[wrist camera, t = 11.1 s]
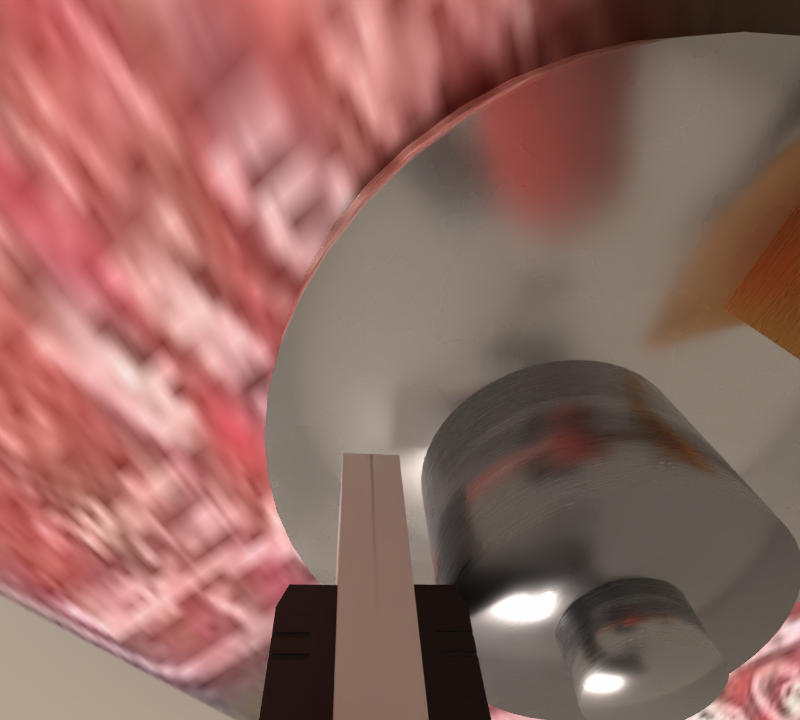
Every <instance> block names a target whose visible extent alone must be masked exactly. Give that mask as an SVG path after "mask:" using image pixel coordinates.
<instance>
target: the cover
mask: <svg viewBox="0 0 800 720" xmlns="http://www.w3.org/2000/svg"><path fill="white" fill-rule="evenodd" d="M421 491H422V498H423V505H424V511H425V518H426V524H427V531H428V538H429V544H430V551H431V558H432V564H433V571H434V577H435V584H436V585H454V586H455V587H456V589H457V591H458V592H459V594H460V595H461V597H462V598H463V600H464V601H465V603H466V604H467V606H468V611H469V615H470V620H471V625H472V630H473V636H474V640H475V644H476V649H477V657H478V659H479V664H480V669H481V674H482V678H483V683H484V688H485V693H486V698H487V703H488V704H490V705H493V706H495V707H497V708H499V709H502V710H504V711H507V712H510V713H513V714H517V715H521V716H526V717H530V718H537V719H545V720H685V719H687V718H689V717H691V716H693V715H695V714H697V713H698V712H700V711H701V710H703V709H705V708H706V707H707V706H708V705H710V704H711V703H712V702H713V701H714V700H715V699H716V698H717V697H718V696H719V695H720V694H721V693H722V691H723V690H724V688H725V686H726V684H727V682H728V678H729V673H731V672H732V671H734V670H735V669H737V668H738V667H740V666H741V665H742V664H744V663H745V662H746V661H747V660H749V659H750V658H751V657H753V656H754V655H755V654H756V653H757V652H758V651H759V650H760V649H761V648H762V647H764V646H765V645H766V644H767V643H768V642H769V641H770V639H771V638H772V637H773V636H774V635H775V634H776V632H777V631H778V630H779V629H780V628H781V626H782V625H783V623H784V622H785V620H786V619H787V617H788V616H789V614H790V612H791V610H792V608H793V606H794V604H795V602H796V600H797V597H798V594H799V591H800V550H799V548H798V545H797V542H796V540H795V538H794V537H793V535H792V534H791V532H790V531H789V529H788V528H787V527H786V526H785V524H784V523H783V522H782V521H781V520H780V519H779V518H778V517H777V516H776V515H775V514H774V513H773V512H772V510H771V509H770V508H769V507H768V506H767V505H766V504H765V503H764V502H763V501H762V500H761V499H760V497H759V496H758V495H757V494H756V493H755V492H754V491H753V490H752V489H751V488H750V487H749V486H748V484H747V483H746V482H745V481H744V480H743V479H742V478H741V477H740V476H739V475H738V474H737V473H736V471H735V470H734V469H733V468H732V467H731V466H730V465H729V464H728V463H727V462H726V461H725V460H724V458H723V457H722V456H721V455H720V454H719V453H718V452H717V451H716V450H715V449H714V448H713V447H712V446H711V444H710V443H709V442H708V441H707V440H706V439H705V438H704V437H703V436H702V435H701V434H700V433H699V431H698V430H697V429H696V428H695V427H694V426H693V425H692V424H691V423H690V422H689V421H688V420H687V418H686V417H685V416H684V415H683V414H682V413H681V412H680V411H679V410H678V409H677V408H676V407H675V405H674V404H673V403H672V402H671V401H670V400H669V399H668V398H667V397H666V396H665V395H664V394H663V393H662V392H661V391H660V390H659V389H658V388H657V387H656V386H655V385H654V384H653V383H651V382H650V381H648V380H647V379H645V378H644V377H643V376H641V375H639V374H637V373H635V372H633V371H631V370H628V369H626V368H623V367H620V366H617V365H613V364H610V363H604V362H598V361H590V360H565V361H554V362H549V363H543V364H538V365H534V366H531V367H527V368H524V369H521V370H517V371H515V372H513V373H510V374H508V375H506V376H503V377H501V378H499V379H497V380H495V381H493V382H491V383H490V384H488V385H486V386H484V387H483V388H481V389H480V390H478V391H477V392H475V393H474V394H473V395H471V396H470V397H468V398H467V399H466V400H465V401H464V402H463V403H462V404H460V405H459V406H458V407H457V408H456V409H455V410H454V411H453V412H452V413H451V414H450V415H449V417H448V418H447V419H446V420H445V421H444V422H443V424H442V425H441V427H440V428H439V430H438V431H437V433H436V434H435V436H434V437H433V439H432V441H431V444H430V446H429V448H428V450H427V453H426V456H425V459H424V463H423V467H422V475H421Z"/></svg>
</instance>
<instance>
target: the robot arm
mask: <svg viewBox="0 0 800 720" xmlns="http://www.w3.org/2000/svg"><path fill="white" fill-rule="evenodd" d="M259 720H491V717H490V712H489V707H488V703H487V698H486V693H485V688H484V683H483V678H482V674H481V669H480V664H479V659H478V657H477V649H476V644H475V640H474V636H473V630H472V625H471V620H470V615H469V611H468V606H467V604H466V603H465V601H464V600H463V598H462V597H461V595H460V594H459V592H458V591H457V589H456V587H455V586H454V585H426V584H414V583H413V574H412V565H411V556H410V547H409V538H408V529H407V520H406V511H405V502H404V493H403V484H402V475H401V466H400V457H399V455H384V454H358V453H343V462H342V477H341V493H340V508H339V524H338V544H337V569H336V585H289V586H288V588H287V590H286V591H285V593H284V595H283V596H282V598H281V599H280V601H279V603H278V604H277V606H276V611H275V617H274V624H273V631H272V638H271V644H270V651H269V659H268V664H267V671H266V678H265V685H264V691H263V698H262V705H261V712H260V718H259Z"/></svg>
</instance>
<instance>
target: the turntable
mask: <svg viewBox="0 0 800 720" xmlns="http://www.w3.org/2000/svg"><path fill="white" fill-rule="evenodd" d="M565 360H590V361H598V362H604V363H610V364H613V365H617V366H620V367H623V368H626V369H628V370H631V371H633V372H635V373H637V374H639V375H641V376H643V377H644V378H645V379H647V380H648V381H650V382H651V383H653V384H654V385H655V386H656V387H657V388H658V389H659V390H660V391H661V392H662V393H663V394H664V395H665V396H666V397H667V398H668V399H669V400H670V401H671V402H672V403H673V404H674V405H675V407H676V408H677V409H678V410H679V411H680V412H681V413H682V414H683V415H684V416H685V417H686V418H687V420H688V421H689V422H690V423H691V424H692V425H693V426H694V427H695V428H696V429H697V430H698V431H699V433H700V434H701V435H702V436H703V437H704V438H705V439H706V440H707V441H708V442H709V443H710V444H711V446H712V447H713V448H714V449H715V450H716V451H717V452H718V453H719V454H720V455H721V456H722V457H723V458H724V460H725V461H726V462H727V463H728V464H729V465H730V466H731V467H732V468H733V469H734V470H735V471H736V473H737V474H738V475H739V476H740V477H741V478H742V479H743V480H744V481H745V482H746V483H747V484H748V486H749V487H750V488H751V489H752V490H753V491H754V492H755V493H756V494H757V495H758V496H759V497H760V499H761V500H762V501H763V502H764V503H765V504H766V505H767V506H768V507H769V508H770V509H771V510H772V512H773V513H774V514H775V515H776V516H777V517H778V518H779V519H780V520H781V521H782V522H783V523H784V524H785V526H786V527H787V528H788V529H789V531H790V532H791V534H792V535H793V537H794V538H795V540H796V542H797V545H798V548H799V550H800V36H796V35H782V34H768V33H753V32H735V33H722V34H709V35H697V36H685V37H673V38H662V39H650V40H639V41H629V42H625V43H621V44H617V45H613V46H609V47H604V48H600V49H596V50H592V51H588V52H583V53H579V54H575V55H571V56H568V57H565V58H563V59H560V60H558V61H555V62H553V63H550V64H547V65H545V66H542V67H540V68H537V69H535V70H532V71H530V72H527V73H524V74H522V75H519V76H517V77H514V78H512V79H510V80H508V81H506V82H504V83H503V84H501V85H499V86H497V87H495V88H494V89H492V90H490V91H488V92H486V93H485V94H483V95H481V96H479V97H477V98H475V99H474V100H472V101H470V102H468V103H466V104H465V105H463V106H461V107H459V108H457V109H456V110H455V111H453V112H452V113H451V114H449V115H448V116H446V117H445V118H444V119H442V120H441V121H440V122H438V123H437V124H436V125H434V126H433V127H432V128H430V129H429V130H428V131H426V132H425V133H423V134H422V135H421V136H419V137H418V138H417V139H415V140H414V141H413V142H411V143H410V144H409V145H407V146H406V147H405V148H404V149H403V150H402V151H401V152H400V153H399V154H398V155H397V156H396V157H395V158H394V159H393V160H392V161H391V162H390V163H389V164H388V165H387V166H386V167H385V168H384V169H383V170H382V171H380V172H379V173H378V174H377V175H376V176H375V177H374V178H373V179H372V180H371V181H370V182H369V183H368V184H367V185H366V186H365V187H364V189H363V190H362V191H361V192H360V194H359V195H358V196H357V198H356V199H355V200H354V201H353V203H352V204H351V205H350V206H349V208H348V209H347V210H346V211H345V213H344V214H343V215H342V216H341V218H340V219H339V220H338V221H337V223H336V224H335V225H334V227H333V228H332V229H331V231H330V233H329V235H328V236H327V238H326V240H325V241H324V243H323V245H322V246H321V248H320V250H319V251H318V253H317V255H316V257H315V258H314V260H313V262H312V263H311V265H310V267H309V268H308V270H307V272H306V274H305V277H304V279H303V281H302V284H301V286H300V289H299V291H298V294H297V296H296V298H295V301H294V303H293V306H292V308H291V311H290V313H289V315H288V319H287V323H286V326H285V330H284V333H283V337H282V341H281V344H280V348H279V352H278V356H277V360H276V364H275V368H274V372H273V376H272V380H271V384H270V388H269V392H268V402H267V415H266V427H265V446H266V458H267V469H268V478H269V482H270V485H271V489H272V493H273V497H274V501H275V505H276V509H277V512H278V514H279V517H280V519H281V521H282V523H283V526H284V528H285V530H286V532H287V535H288V537H289V539H290V541H291V543H292V545H293V547H294V548H295V550H296V551H297V553H298V554H299V556H300V557H301V559H302V560H303V562H304V563H305V565H306V566H307V568H308V569H309V571H310V572H311V573H312V574H313V576H314V577H315V578H316V579H317V580H318V581H319V582H320V583H321V584H322V585H336V569H337V544H338V524H339V508H340V493H341V477H342V462H343V453H358V454H384V455H399V457H400V466H401V475H402V484H403V493H404V502H405V511H406V520H407V529H408V538H409V547H410V556H411V565H412V574H413V583H414V584H426V585H436V584H435V577H434V571H433V564H432V558H431V551H430V544H429V538H428V531H427V524H426V518H425V511H424V505H423V498H422V491H421V475H422V467H423V463H424V459H425V456H426V453H427V450H428V448H429V446H430V444H431V441H432V439H433V437H434V436H435V434H436V433H437V431H438V430H439V428H440V427H441V425H442V424H443V422H444V421H445V420H446V419H447V418H448V417H449V415H450V414H451V413H452V412H453V411H454V410H455V409H456V408H457V407H458V406H459V405H460V404H462V403H463V402H464V401H465V400H466V399H467V398H468V397H470V396H471V395H473V394H474V393H475V392H477V391H478V390H480V389H481V388H483V387H484V386H486V385H488V384H490V383H491V382H493V381H495V380H497V379H499V378H501V377H503V376H506V375H508V374H510V373H513V372H515V371H517V370H521V369H524V368H527V367H531V366H534V365H538V364H543V363H549V362H554V361H565ZM798 601H800V591H799V594H798V597H797V600H796V602H798ZM796 602H795V603H796Z"/></svg>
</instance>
